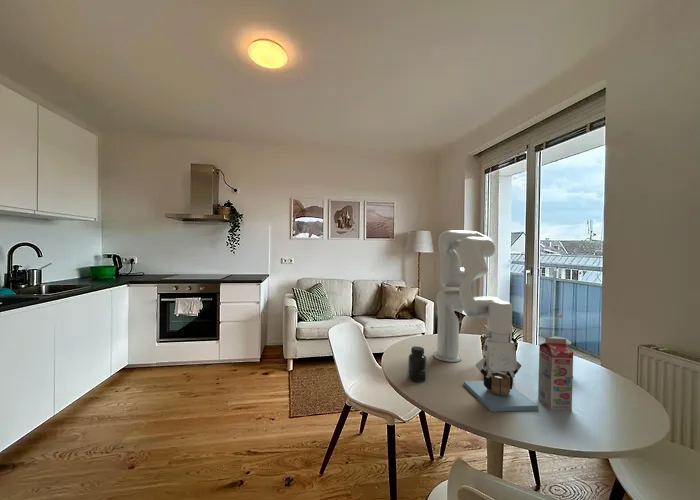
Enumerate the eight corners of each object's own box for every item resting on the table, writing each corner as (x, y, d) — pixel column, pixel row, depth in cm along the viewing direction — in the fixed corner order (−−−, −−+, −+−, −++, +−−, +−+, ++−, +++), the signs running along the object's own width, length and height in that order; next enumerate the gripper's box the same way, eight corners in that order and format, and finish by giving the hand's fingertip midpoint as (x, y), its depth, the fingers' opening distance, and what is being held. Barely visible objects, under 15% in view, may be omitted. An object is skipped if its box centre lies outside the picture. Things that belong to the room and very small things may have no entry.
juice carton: (538, 399, 101) (539, 335, 101) (557, 399, 101) (559, 335, 101) (550, 409, 95) (552, 341, 94) (571, 410, 94) (573, 341, 94)
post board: (463, 385, 110) (463, 367, 110) (503, 384, 112) (504, 367, 112) (490, 411, 93) (491, 390, 93) (538, 410, 94) (538, 389, 94)
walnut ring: (482, 385, 105) (483, 371, 105) (501, 384, 106) (501, 370, 106) (494, 394, 98) (494, 380, 98) (514, 394, 99) (514, 379, 99)
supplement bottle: (426, 383, 111) (427, 352, 111) (407, 381, 112) (408, 350, 112) (425, 376, 118) (426, 346, 118) (408, 374, 119) (408, 344, 119)
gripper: (481, 340, 98) (479, 393, 98) (530, 339, 99) (528, 392, 99) (469, 333, 105) (468, 383, 105) (515, 333, 107) (514, 382, 107)
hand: (498, 387), depth 102 cm, fingers closed on walnut ring, 7 cm apart
